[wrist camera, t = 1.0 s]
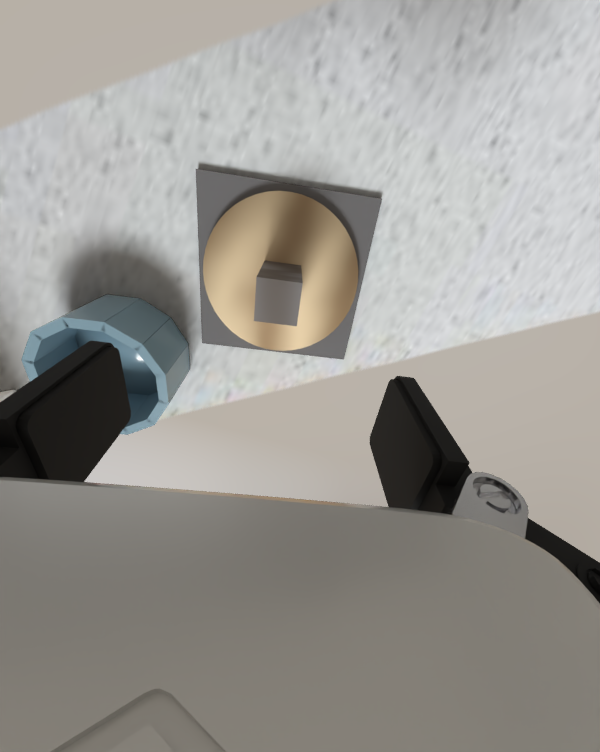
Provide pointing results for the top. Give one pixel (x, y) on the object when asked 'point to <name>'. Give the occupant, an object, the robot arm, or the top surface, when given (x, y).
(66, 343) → the bowl
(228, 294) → the lid
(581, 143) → the top surface
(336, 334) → the mat
